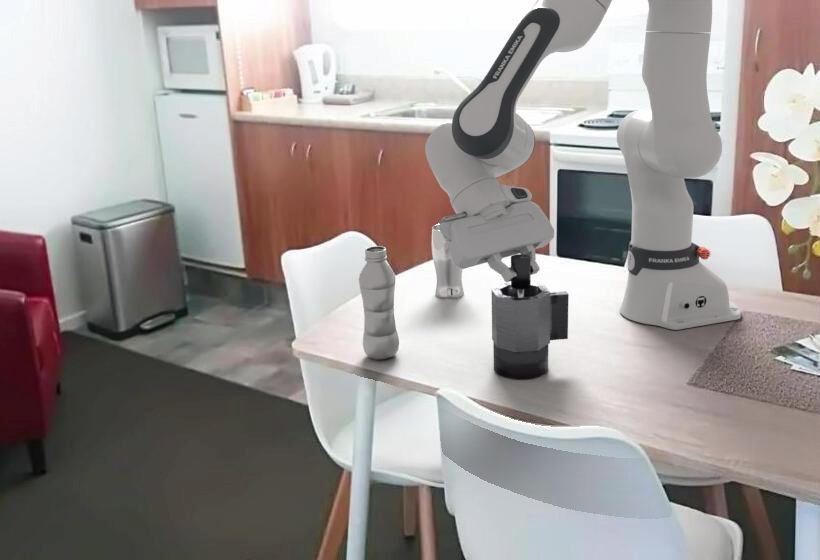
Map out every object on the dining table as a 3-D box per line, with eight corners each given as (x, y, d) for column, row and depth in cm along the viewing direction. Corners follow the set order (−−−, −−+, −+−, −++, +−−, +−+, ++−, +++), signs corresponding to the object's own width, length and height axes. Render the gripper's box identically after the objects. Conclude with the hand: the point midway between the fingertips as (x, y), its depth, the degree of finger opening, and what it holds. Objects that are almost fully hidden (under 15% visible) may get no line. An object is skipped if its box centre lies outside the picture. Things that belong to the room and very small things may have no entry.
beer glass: (463, 300, 179) (461, 231, 174) (430, 299, 180) (428, 230, 175) (468, 289, 185) (466, 222, 181) (436, 288, 187) (434, 222, 182)
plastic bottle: (405, 351, 154) (400, 245, 148) (389, 366, 149) (384, 256, 142) (373, 347, 157) (367, 242, 151) (356, 361, 151) (349, 253, 145)
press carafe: (558, 353, 151) (559, 278, 146) (573, 375, 142) (575, 296, 137) (488, 359, 149) (487, 284, 145) (499, 381, 141) (499, 302, 136)
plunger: (531, 330, 146) (532, 251, 142) (539, 341, 142) (539, 260, 137) (502, 332, 146) (502, 253, 141) (509, 343, 141) (509, 262, 137)
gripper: (442, 208, 136) (484, 280, 132) (535, 187, 147) (576, 253, 143) (426, 229, 141) (466, 300, 136) (517, 208, 152) (556, 272, 148)
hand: (523, 276), depth 140 cm, fingers open, 4 cm apart
